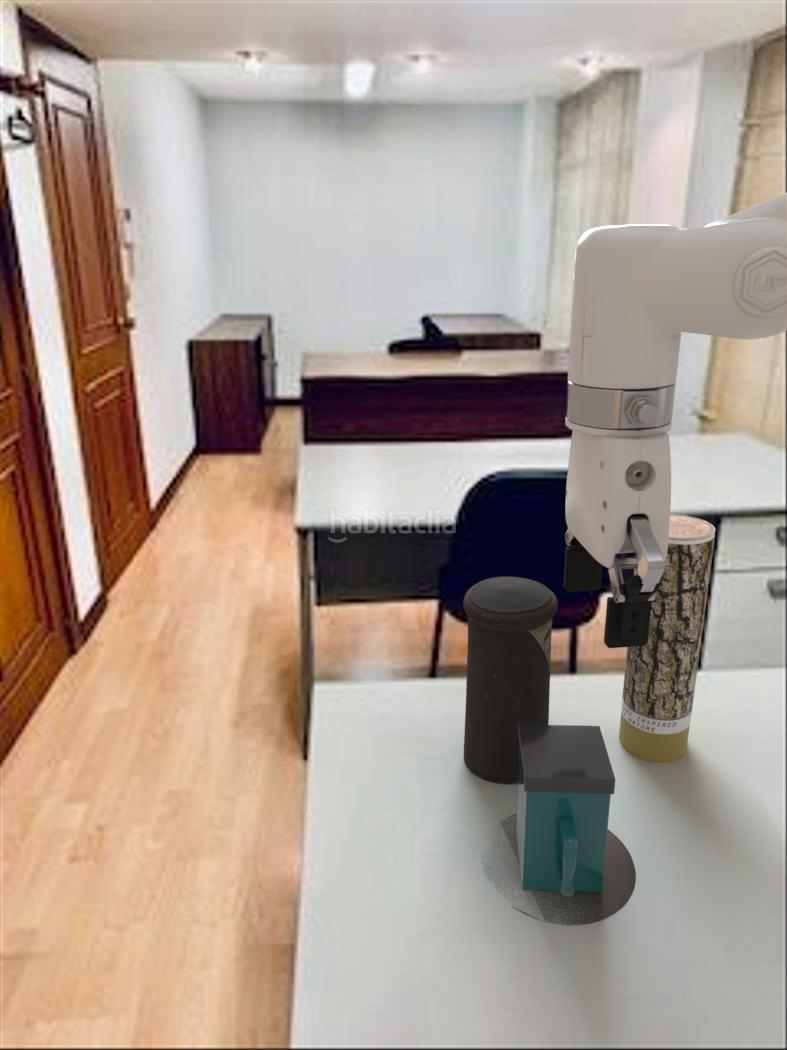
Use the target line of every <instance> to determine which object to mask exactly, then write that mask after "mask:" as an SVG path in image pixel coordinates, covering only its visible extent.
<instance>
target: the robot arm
mask: <svg viewBox="0 0 787 1050" xmlns="http://www.w3.org/2000/svg"><path fill="white" fill-rule="evenodd" d="M573 261H574V262H573V277H572V294H571V295H572V296H571V314H570V332H569V333H570V334H569V352H568V370H567V387H566V407H565V422H564V424H565V427H567V428H568V429H569V430H572V432H571V440H570V445H569V446H570V448H569V455H568V463H567V464H568V465H567V475H566V486H565V506H564V509H565V522H566V527H567V530H566V532H565V536H564V539H565V540H564V541H565V544H566V546H565V554H564V571H563V589H564V590H565V591H566V592H568V593H571V592H572V593H573V592H574V593H576V592H589V591H599V590H600V589H601V588H602V580H603V570H604V569H603V568H604V567H605V568H607V572H608V576H609V577H608V578H609V582H610V583H609V584H610V588H611V594H612V596H607V598H606V609H605V620H604V621H605V622H604V634H603V643H604V644H605V646H606V647H607V648H608V649H619V648H627V647H634V646H644V645H646V644H647V642H648V634H649V625H650V615H651V606H652V601H654V600H655V597H656V592H657V591H658V589H659V587H660V582H659V581H660V579H661V577H662V575H663V572H664V570H665V560H666V557H667V550H668V538H669V524H670V514H671V505H672V504H671V503H672V501H671V500H672V455H671V443H670V434H668V432H669V431H670V430H671V429H672V424H673V412H674V404H675V396H676V395H675V394H676V384H677V376H678V368H679V367H678V366H679V358H680V357H679V356H680V348H681V338H682V333H688V334H689V333H690V334H698V335H706V336H714V337H721V338H728V339H735V340H736V339H738V340H758V339H765V338H770V337H774V336H777V335H780V334H783V333H785V332H787V192H785V193H782V194H779V195H777V196H774V197H773V198H772V197H771V198H769V199H767V200H765V201H762V202H760V203H758V204H757V203H756V204H754V205H753V206H750V207H747V208H745V209H742V210H740V211H737V212H735V213H732V214H730V215H728V216H725V217H723V218H720V219H718V220H715V221H713V222H711V223H709V224H707V225H705V226H696V227H687V228H680V227H677V226H675V225H671V224H653V223H652V224H651V223H649V224H620V225H604V226H602V225H601V226H598V227H593V228H591V229H588V230H586V231H585V232H584V233H582V235H581V236H580V238H579V239H578V241H577V244H576V247H575V252H574V260H573ZM633 553H634V555H635V556H629V557H628V556H627V557H618V556H617V555H619V554H633ZM636 568H637V570H636V571H637V575H635V576H634V575H631V576H630V577H629V578H628V579H627V580H626V581H625V582H624V578H623V572H622V570H634V569H636Z"/></svg>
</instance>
